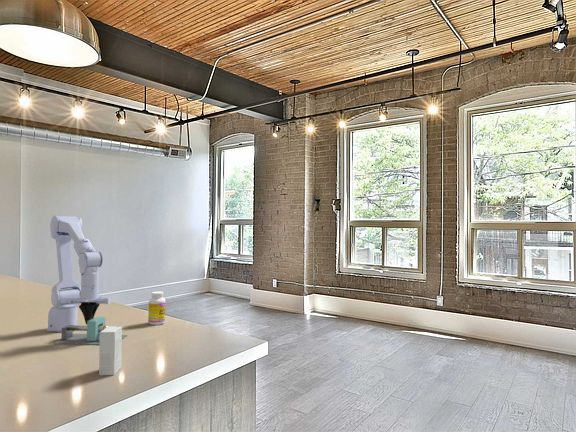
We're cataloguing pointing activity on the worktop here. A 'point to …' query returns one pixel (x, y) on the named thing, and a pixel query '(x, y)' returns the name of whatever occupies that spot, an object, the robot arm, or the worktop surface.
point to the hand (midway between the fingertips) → (89, 323)
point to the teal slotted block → (94, 328)
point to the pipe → (68, 330)
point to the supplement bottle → (156, 309)
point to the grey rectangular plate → (80, 340)
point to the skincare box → (110, 350)
